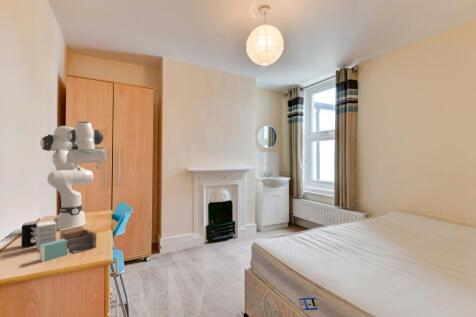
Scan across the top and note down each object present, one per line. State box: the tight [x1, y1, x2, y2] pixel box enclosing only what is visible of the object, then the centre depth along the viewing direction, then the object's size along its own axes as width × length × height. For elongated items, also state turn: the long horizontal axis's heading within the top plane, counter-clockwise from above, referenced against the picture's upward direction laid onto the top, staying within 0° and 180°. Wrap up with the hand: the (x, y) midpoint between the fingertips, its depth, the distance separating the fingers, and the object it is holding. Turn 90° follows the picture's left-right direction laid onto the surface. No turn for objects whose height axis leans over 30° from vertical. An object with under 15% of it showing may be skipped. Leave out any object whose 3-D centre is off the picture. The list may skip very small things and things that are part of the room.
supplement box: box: [35, 220, 57, 252], centre depth 116 cm, size 7×7×13 cm
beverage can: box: [20, 221, 38, 249], centre depth 118 cm, size 7×7×12 cm
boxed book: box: [39, 239, 68, 263], centre depth 104 cm, size 4×9×7 cm, turn 146°
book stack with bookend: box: [59, 225, 97, 254], centre depth 116 cm, size 18×10×9 cm, turn 56°
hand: (88, 169), depth 134 cm, fingers open, 8 cm apart
